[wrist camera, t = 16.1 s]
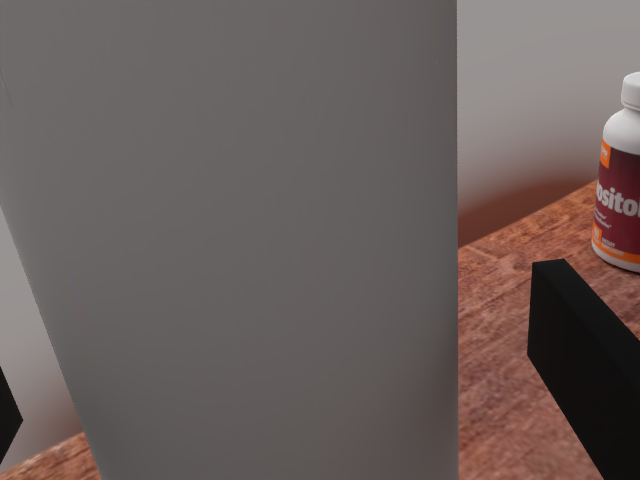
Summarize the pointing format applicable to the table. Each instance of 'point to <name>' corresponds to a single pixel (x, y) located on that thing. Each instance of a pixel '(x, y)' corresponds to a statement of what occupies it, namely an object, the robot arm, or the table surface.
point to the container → (242, 230)
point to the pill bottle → (620, 184)
